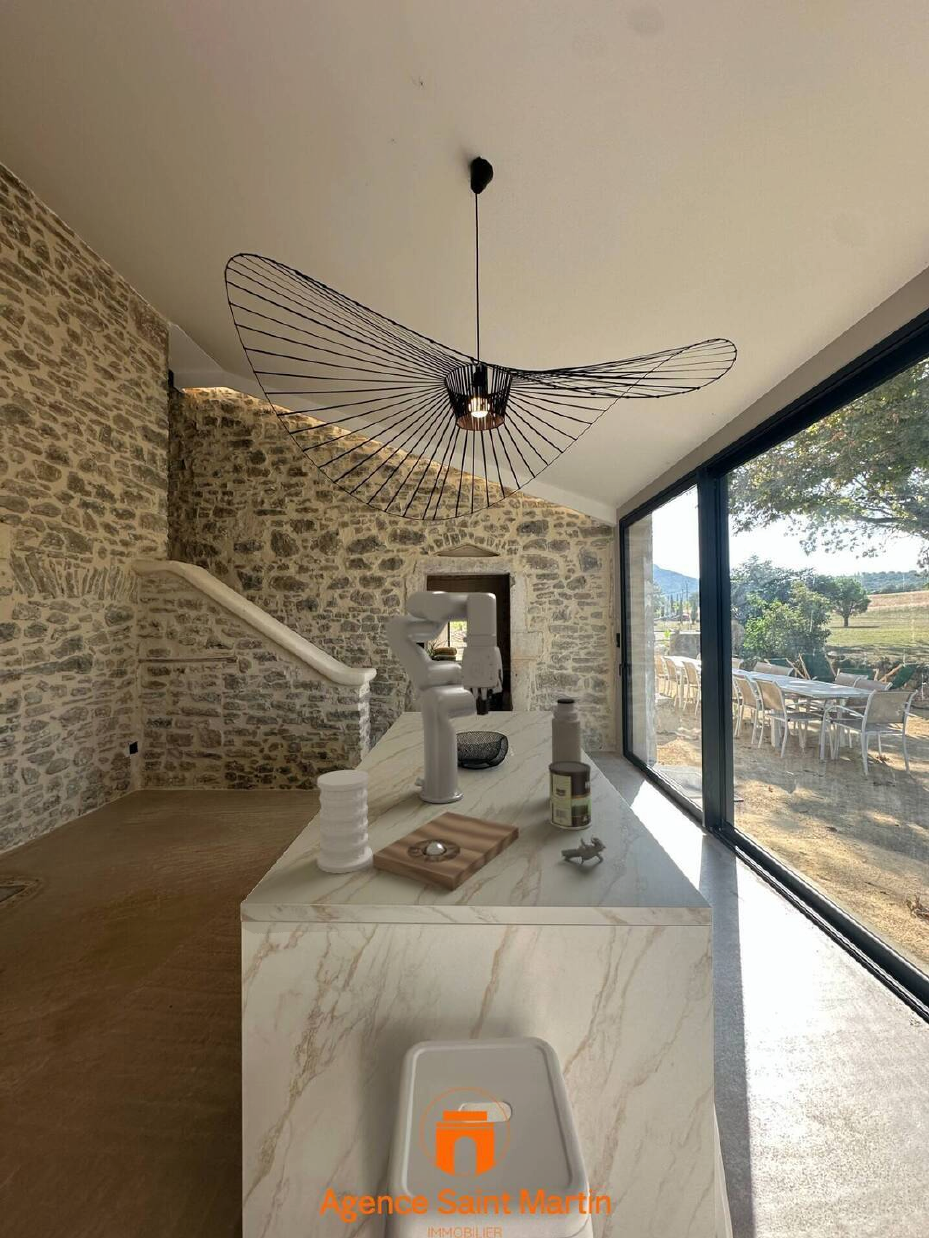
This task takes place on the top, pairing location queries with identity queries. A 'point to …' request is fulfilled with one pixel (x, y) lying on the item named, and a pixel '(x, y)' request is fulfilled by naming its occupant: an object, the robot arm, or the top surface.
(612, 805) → the top surface
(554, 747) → the thermos bottle
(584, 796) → the coffee can
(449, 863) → the deck
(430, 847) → the ball
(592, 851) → the grey toy figure
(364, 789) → the decorative container
